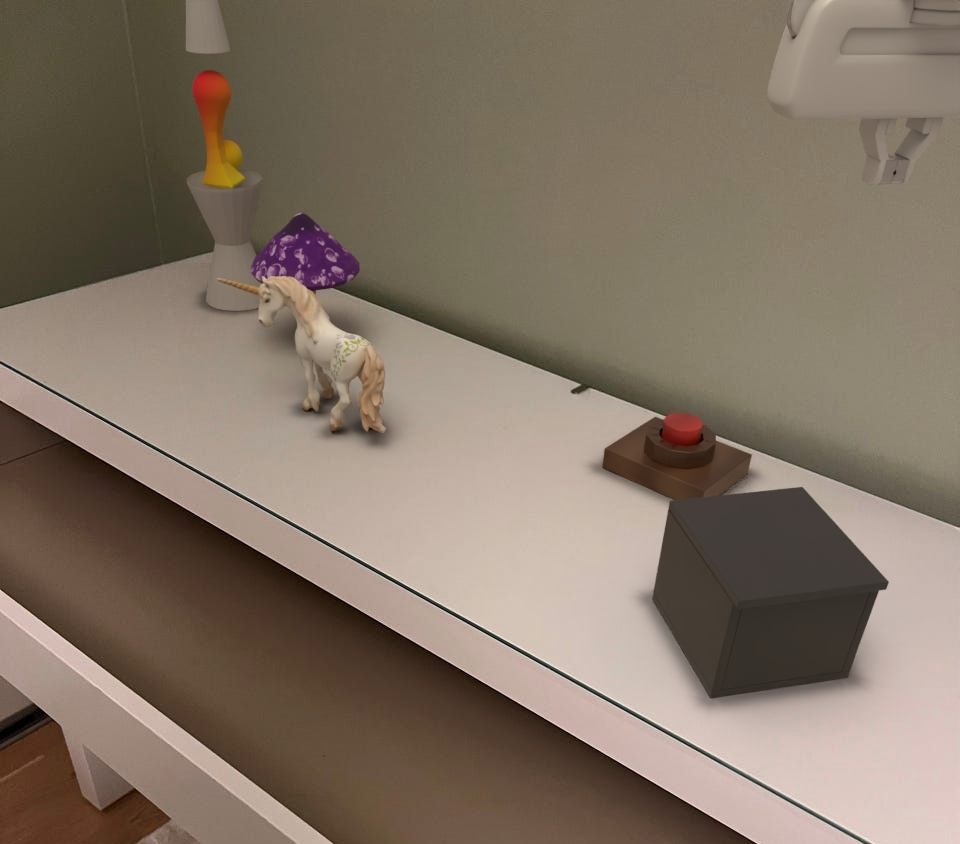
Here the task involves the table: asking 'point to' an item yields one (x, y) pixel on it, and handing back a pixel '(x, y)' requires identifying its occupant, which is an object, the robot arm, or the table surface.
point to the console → (676, 462)
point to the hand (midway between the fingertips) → (884, 182)
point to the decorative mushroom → (306, 256)
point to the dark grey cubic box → (752, 627)
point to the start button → (682, 429)
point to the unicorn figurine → (324, 350)
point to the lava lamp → (222, 170)
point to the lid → (775, 547)
